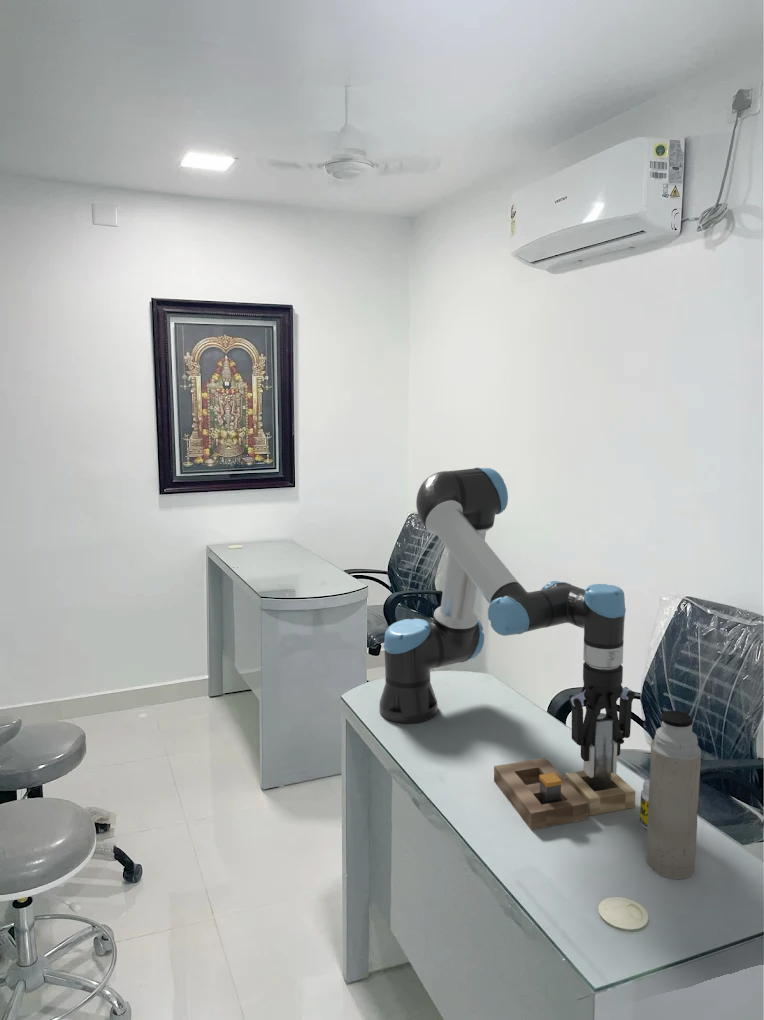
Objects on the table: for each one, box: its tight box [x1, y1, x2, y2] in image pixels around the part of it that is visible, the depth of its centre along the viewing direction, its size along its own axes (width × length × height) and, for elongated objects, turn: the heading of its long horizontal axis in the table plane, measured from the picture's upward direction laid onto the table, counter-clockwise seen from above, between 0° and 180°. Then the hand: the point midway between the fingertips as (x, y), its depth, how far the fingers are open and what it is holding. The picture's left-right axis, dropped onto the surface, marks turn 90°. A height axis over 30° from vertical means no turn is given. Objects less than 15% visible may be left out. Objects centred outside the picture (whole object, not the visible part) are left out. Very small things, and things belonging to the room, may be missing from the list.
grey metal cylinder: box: [588, 712, 613, 792], centre depth 148 cm, size 4×4×16 cm
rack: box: [564, 769, 636, 816], centre depth 150 cm, size 10×10×4 cm
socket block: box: [493, 757, 589, 831], centre depth 150 cm, size 18×12×4 cm, turn 14°
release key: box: [539, 773, 562, 805], centre depth 145 cm, size 3×3×7 cm
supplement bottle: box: [639, 778, 650, 830], centre depth 140 cm, size 5×5×8 cm
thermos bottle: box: [645, 710, 702, 880], centre depth 127 cm, size 8×8×28 cm
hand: (599, 771), depth 149 cm, fingers closed on grey metal cylinder, 4 cm apart
